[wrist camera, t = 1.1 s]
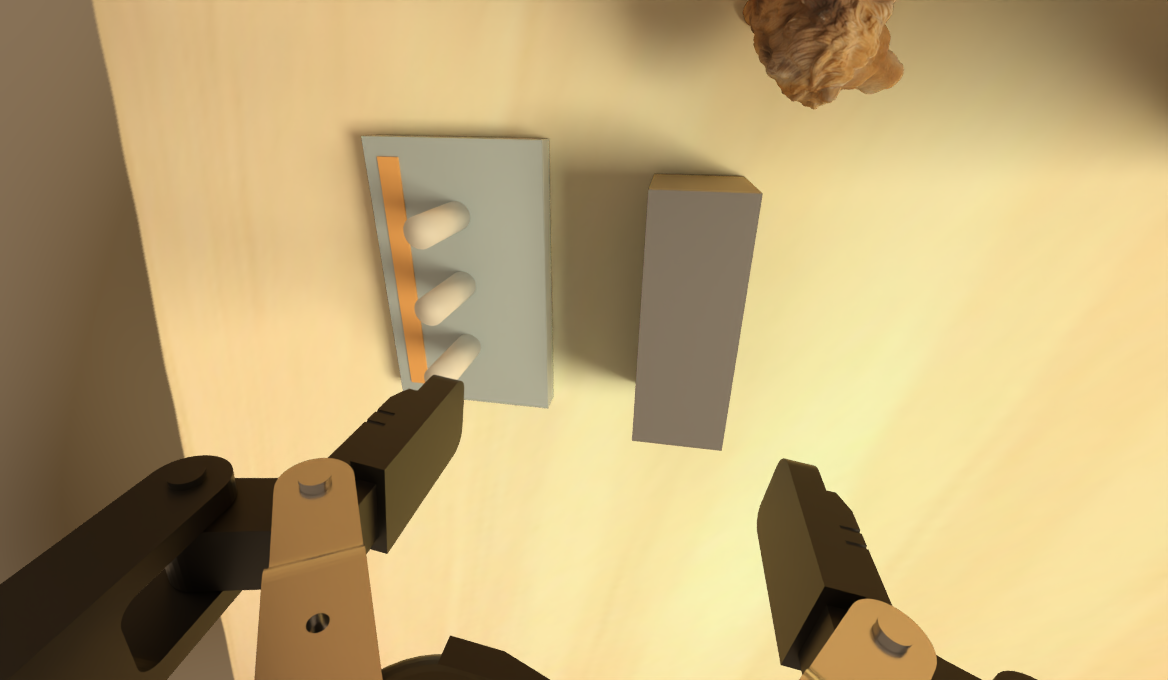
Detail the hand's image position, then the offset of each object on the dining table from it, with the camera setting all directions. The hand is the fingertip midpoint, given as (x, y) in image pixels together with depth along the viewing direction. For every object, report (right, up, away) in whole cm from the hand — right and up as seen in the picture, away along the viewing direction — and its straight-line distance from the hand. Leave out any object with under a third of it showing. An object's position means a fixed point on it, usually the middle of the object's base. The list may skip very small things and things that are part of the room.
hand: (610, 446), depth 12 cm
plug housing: (+5, +6, +16) cm, 18 cm away
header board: (-8, +7, +18) cm, 21 cm away
